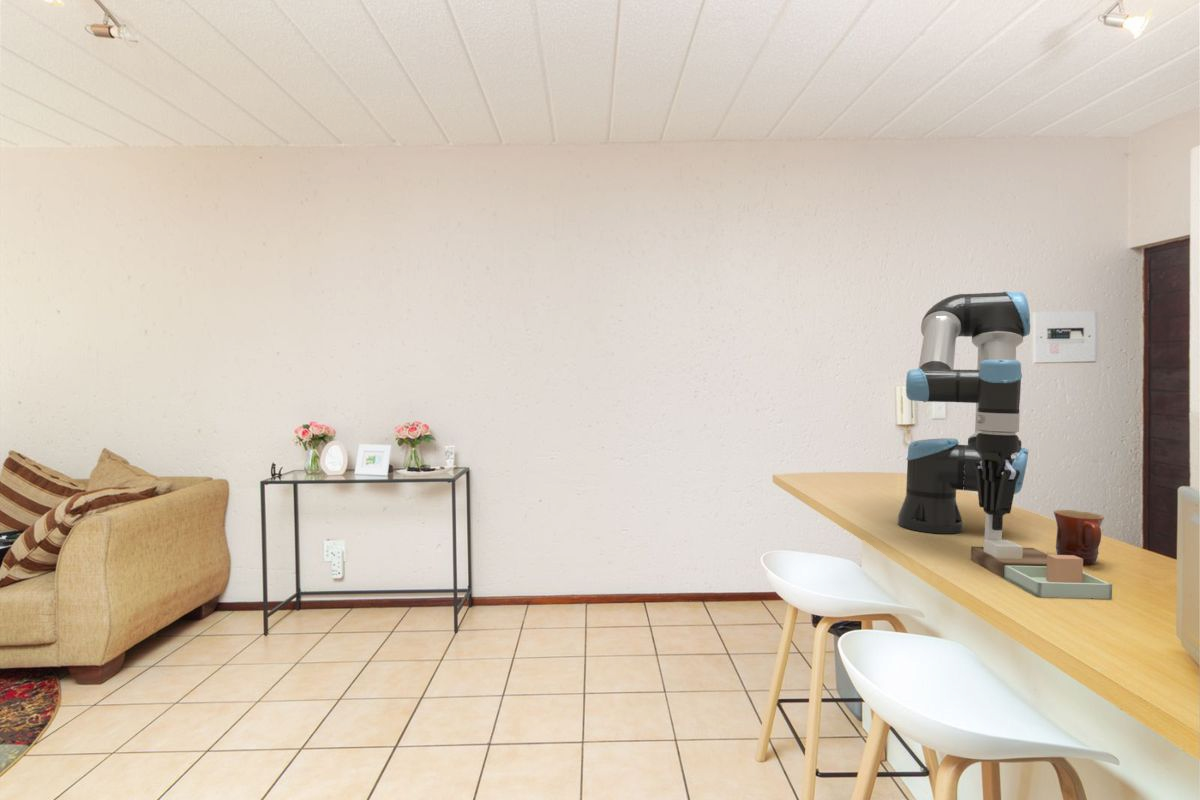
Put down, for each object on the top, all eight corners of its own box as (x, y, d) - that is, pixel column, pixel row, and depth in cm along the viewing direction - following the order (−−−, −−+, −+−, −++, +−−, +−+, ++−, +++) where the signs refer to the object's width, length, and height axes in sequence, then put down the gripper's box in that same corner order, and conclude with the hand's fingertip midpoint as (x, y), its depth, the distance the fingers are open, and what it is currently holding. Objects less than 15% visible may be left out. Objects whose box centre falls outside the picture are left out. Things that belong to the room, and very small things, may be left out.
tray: (1003, 578, 126) (1004, 565, 126) (1071, 580, 126) (1072, 567, 126) (1037, 596, 116) (1038, 582, 116) (1111, 599, 115) (1112, 584, 115)
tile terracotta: (1047, 554, 123) (1055, 558, 121) (1074, 555, 123) (1083, 559, 121) (1046, 580, 124) (1054, 584, 121) (1072, 580, 123) (1082, 585, 121)
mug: (1044, 553, 144) (1046, 508, 144) (1087, 556, 142) (1090, 511, 142) (1071, 569, 132) (1074, 520, 132) (1120, 573, 131) (1122, 523, 130)
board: (970, 560, 138) (971, 546, 138) (1032, 561, 138) (1033, 547, 138) (1002, 577, 127) (1003, 562, 126) (1070, 579, 126) (1071, 564, 126)
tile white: (983, 551, 134) (983, 539, 134) (1008, 552, 134) (1008, 540, 134) (996, 558, 129) (997, 546, 129) (1022, 559, 129) (1022, 546, 129)
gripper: (963, 430, 141) (959, 536, 142) (996, 435, 128) (991, 552, 129) (998, 430, 140) (993, 537, 141) (1035, 436, 127) (1030, 553, 128)
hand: (992, 544), depth 135 cm, fingers closed
